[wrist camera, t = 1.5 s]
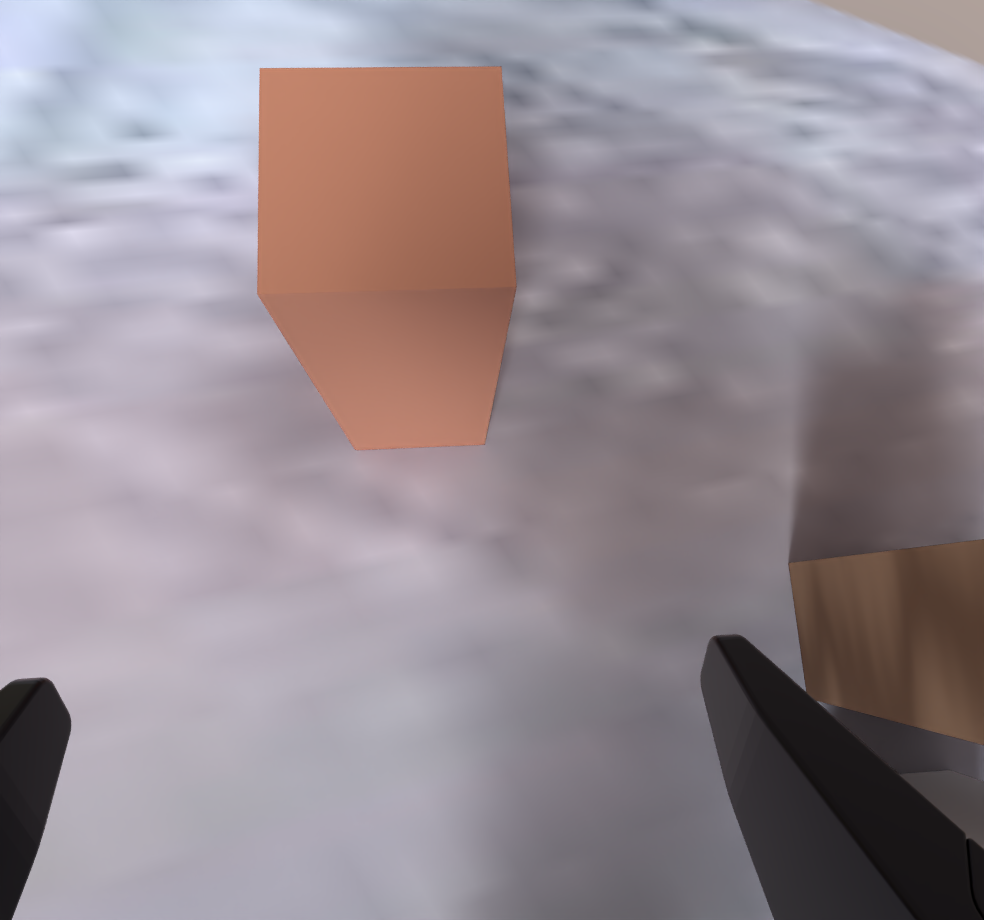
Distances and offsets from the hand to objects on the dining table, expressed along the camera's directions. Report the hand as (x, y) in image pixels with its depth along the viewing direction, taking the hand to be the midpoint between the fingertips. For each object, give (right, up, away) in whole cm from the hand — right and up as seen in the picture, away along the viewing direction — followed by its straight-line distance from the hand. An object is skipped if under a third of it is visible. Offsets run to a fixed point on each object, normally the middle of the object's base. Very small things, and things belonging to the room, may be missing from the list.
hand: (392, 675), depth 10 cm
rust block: (-1, +6, +15) cm, 16 cm away
